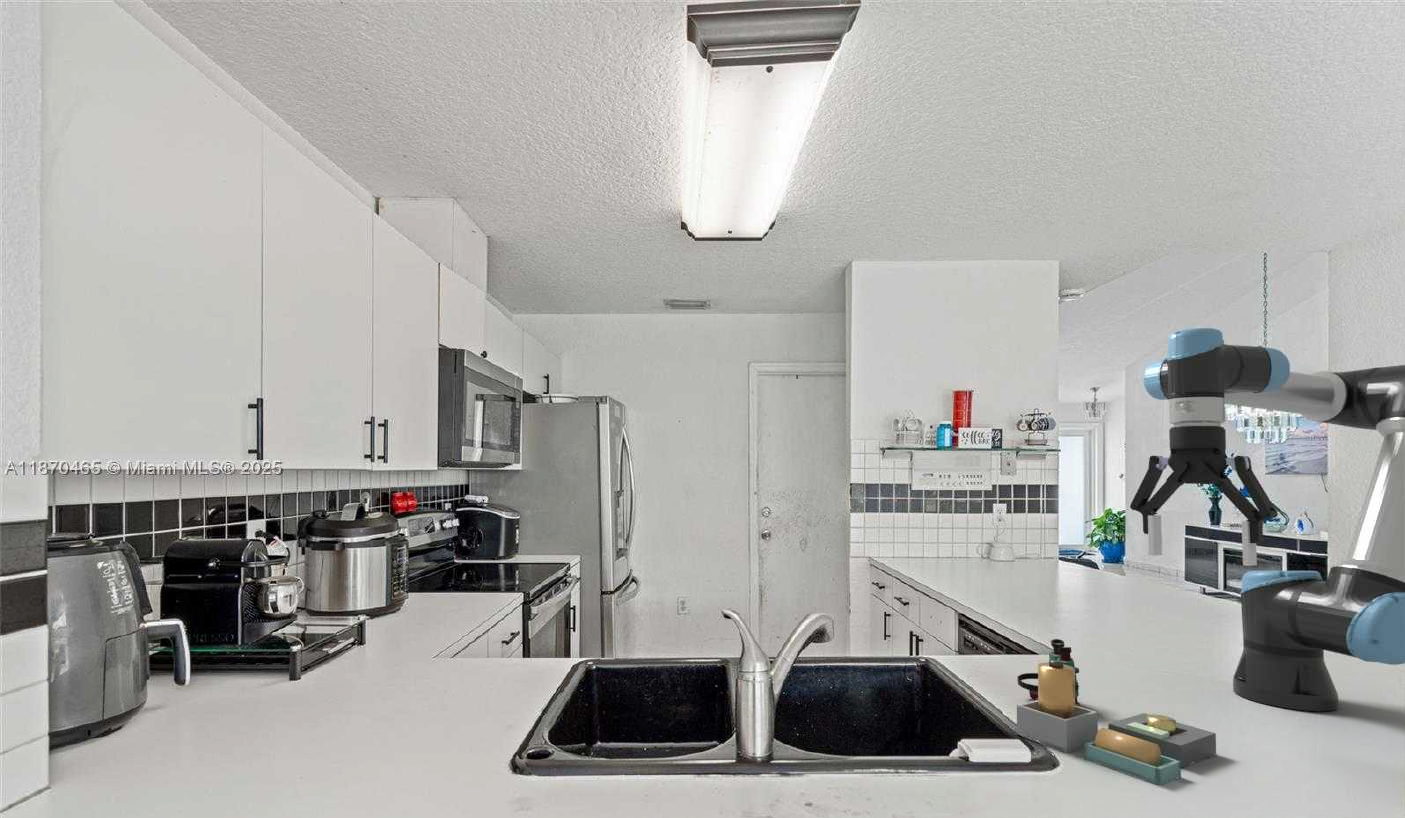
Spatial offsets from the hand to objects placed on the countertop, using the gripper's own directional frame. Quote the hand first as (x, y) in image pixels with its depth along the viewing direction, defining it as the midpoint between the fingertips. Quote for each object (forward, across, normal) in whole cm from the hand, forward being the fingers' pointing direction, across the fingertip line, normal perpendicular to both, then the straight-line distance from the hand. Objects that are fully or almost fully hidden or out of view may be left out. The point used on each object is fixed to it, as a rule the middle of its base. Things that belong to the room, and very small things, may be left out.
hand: (1200, 560), depth 118 cm
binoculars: (+27, -21, -8) cm, 35 cm away
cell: (+26, -10, -23) cm, 36 cm away
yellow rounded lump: (+25, 0, -13) cm, 28 cm away
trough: (+27, +2, -24) cm, 36 cm away
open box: (+27, -10, -23) cm, 37 cm away
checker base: (+27, 0, -13) cm, 30 cm away
